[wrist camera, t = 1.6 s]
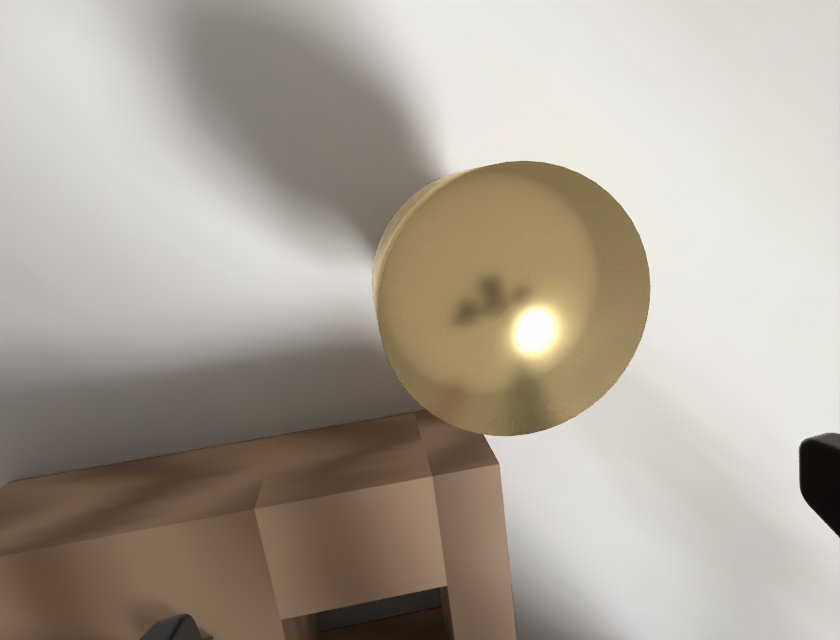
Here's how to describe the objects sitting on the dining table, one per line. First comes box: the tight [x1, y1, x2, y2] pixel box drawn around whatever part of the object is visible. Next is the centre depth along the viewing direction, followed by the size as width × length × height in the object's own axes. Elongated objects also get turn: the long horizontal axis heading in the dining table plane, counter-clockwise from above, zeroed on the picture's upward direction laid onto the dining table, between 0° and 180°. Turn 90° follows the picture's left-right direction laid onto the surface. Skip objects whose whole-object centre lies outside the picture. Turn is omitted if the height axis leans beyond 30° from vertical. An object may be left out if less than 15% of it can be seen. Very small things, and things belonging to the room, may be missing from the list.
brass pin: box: [372, 161, 650, 436], centre depth 16 cm, size 6×6×8 cm
